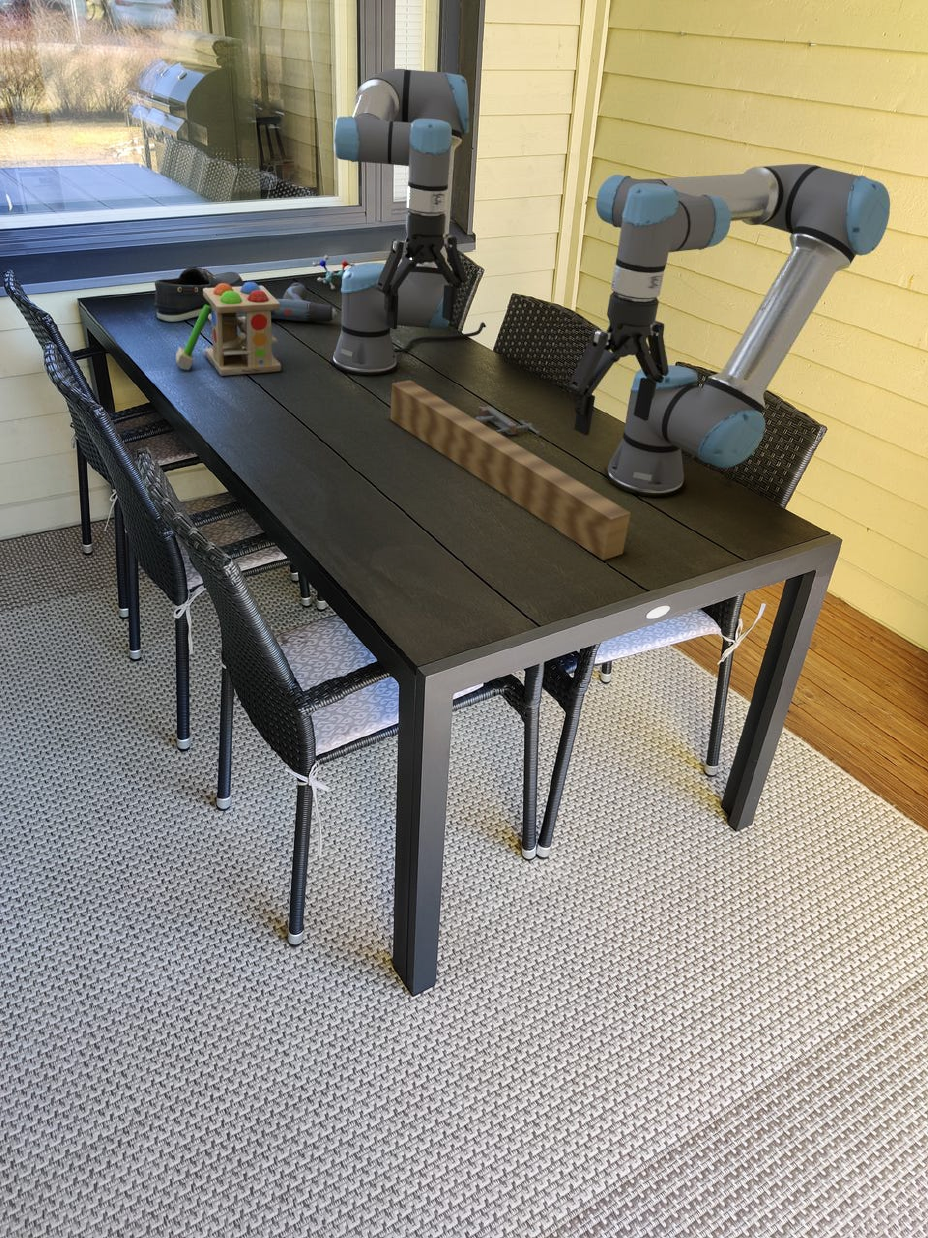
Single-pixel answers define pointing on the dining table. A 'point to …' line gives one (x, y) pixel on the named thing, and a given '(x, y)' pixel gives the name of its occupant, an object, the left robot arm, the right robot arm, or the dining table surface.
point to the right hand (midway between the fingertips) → (611, 424)
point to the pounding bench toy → (229, 347)
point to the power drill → (301, 307)
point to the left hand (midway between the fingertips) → (419, 323)
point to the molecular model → (330, 274)
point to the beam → (512, 470)
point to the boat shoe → (188, 292)
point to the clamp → (496, 418)
